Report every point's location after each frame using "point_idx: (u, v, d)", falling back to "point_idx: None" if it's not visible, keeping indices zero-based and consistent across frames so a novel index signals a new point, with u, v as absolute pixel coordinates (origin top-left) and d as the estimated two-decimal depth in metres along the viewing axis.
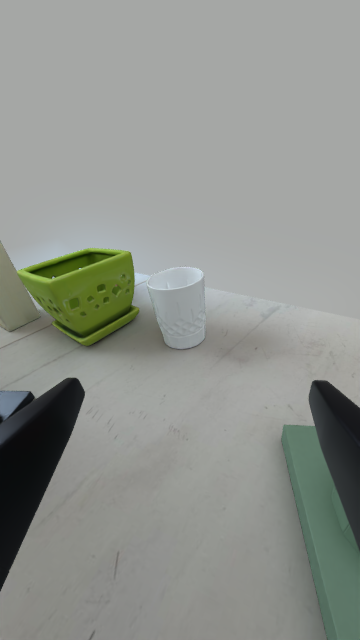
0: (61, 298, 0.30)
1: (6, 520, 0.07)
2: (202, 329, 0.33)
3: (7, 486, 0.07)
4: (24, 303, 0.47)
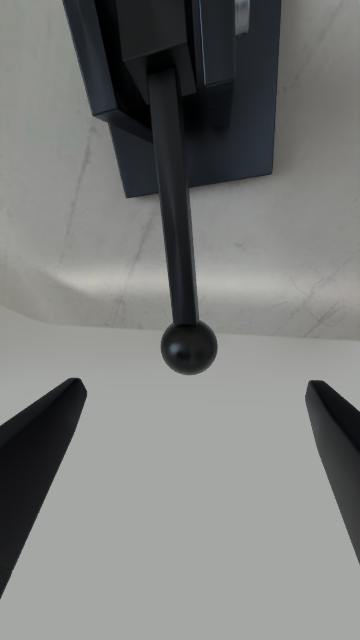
0: None
1: (9, 520, 0.07)
2: None
3: (10, 486, 0.07)
4: None
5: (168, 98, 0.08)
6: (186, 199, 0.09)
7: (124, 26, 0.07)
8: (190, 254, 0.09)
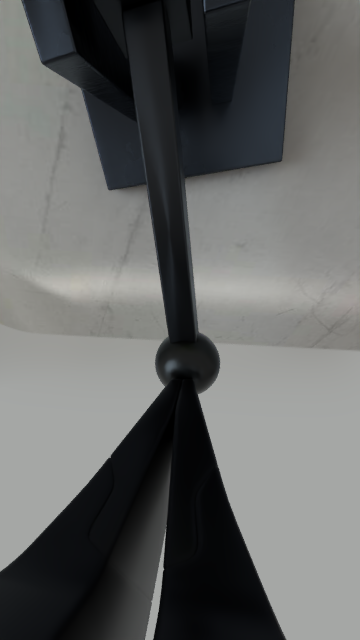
0: None
1: (151, 543, 0.06)
2: None
3: (152, 504, 0.06)
4: None
5: (154, 48, 0.06)
6: (181, 191, 0.07)
7: None
8: (187, 261, 0.08)
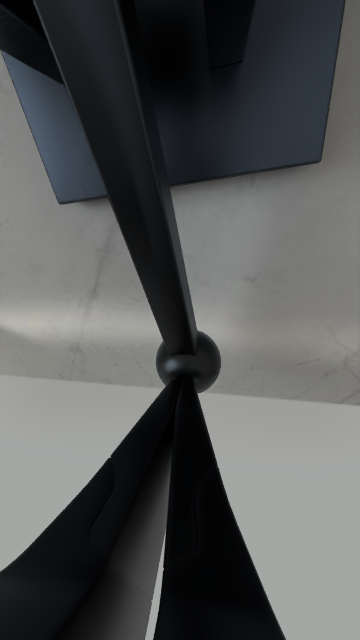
0: None
1: (151, 543, 0.06)
2: None
3: (152, 504, 0.06)
4: None
5: None
6: (166, 215, 0.05)
7: None
8: (182, 292, 0.06)
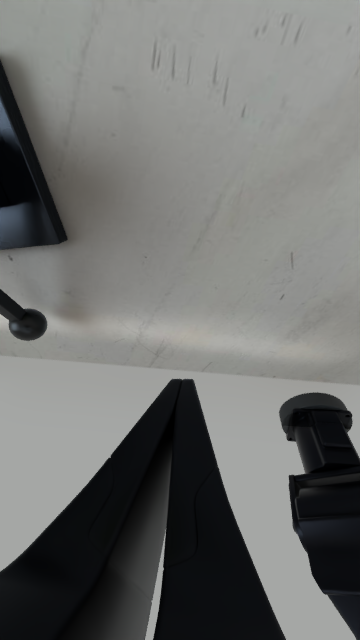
0: None
1: (151, 543, 0.06)
2: None
3: (152, 504, 0.06)
4: None
5: None
6: None
7: None
8: None
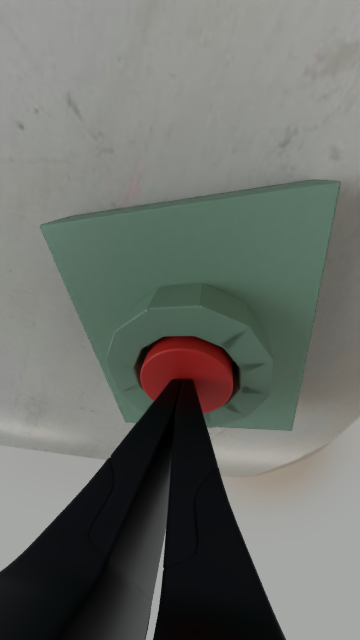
0: None
1: (151, 544, 0.06)
2: None
3: (152, 504, 0.06)
4: None
5: None
6: None
7: None
8: None
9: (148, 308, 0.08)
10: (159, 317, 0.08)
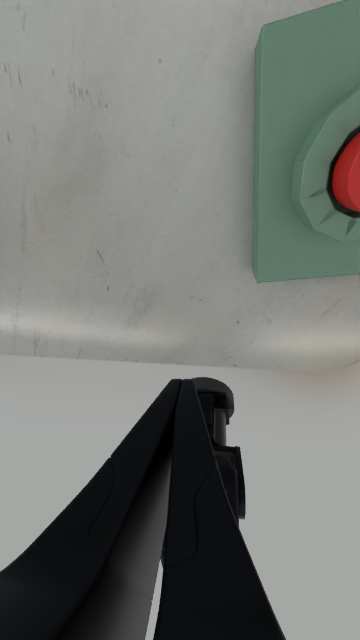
0: None
1: (151, 544, 0.06)
2: None
3: (152, 504, 0.06)
4: None
5: None
6: None
7: None
8: None
9: None
10: None
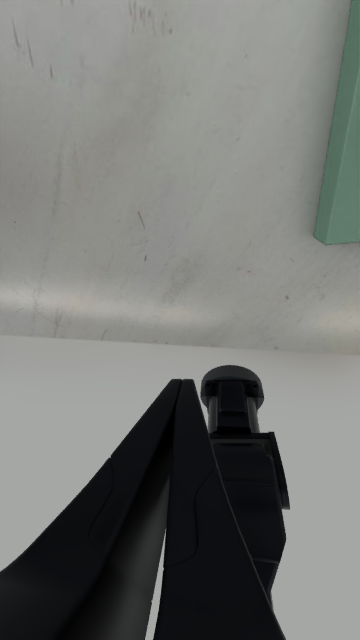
0: None
1: (151, 544, 0.06)
2: None
3: (152, 504, 0.06)
4: None
5: None
6: None
7: None
8: None
9: None
10: None
